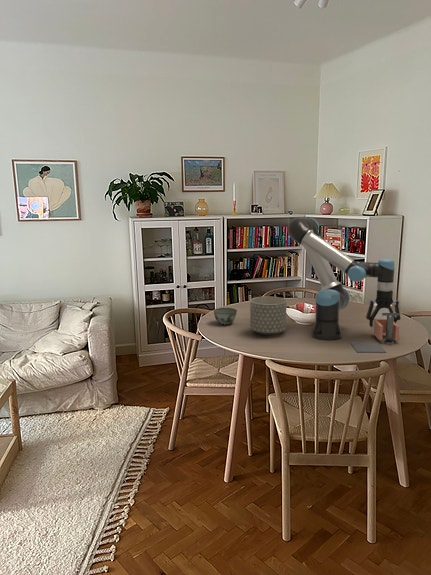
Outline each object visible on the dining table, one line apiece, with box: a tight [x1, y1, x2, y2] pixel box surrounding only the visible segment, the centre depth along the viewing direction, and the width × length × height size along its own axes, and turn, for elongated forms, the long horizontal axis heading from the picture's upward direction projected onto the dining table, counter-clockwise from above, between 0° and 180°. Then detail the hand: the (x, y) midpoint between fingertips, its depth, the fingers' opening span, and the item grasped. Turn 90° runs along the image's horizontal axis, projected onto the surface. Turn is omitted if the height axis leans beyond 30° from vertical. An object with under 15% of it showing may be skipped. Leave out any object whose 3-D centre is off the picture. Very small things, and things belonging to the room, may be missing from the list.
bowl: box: [213, 307, 238, 326], centre depth 244 cm, size 14×13×8 cm
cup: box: [373, 303, 393, 319], centre depth 238 cm, size 10×10×11 cm
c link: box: [372, 318, 400, 341], centre depth 210 cm, size 9×13×7 cm
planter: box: [249, 295, 288, 336], centre depth 223 cm, size 19×19×18 cm
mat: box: [350, 341, 387, 354], centre depth 199 cm, size 13×13×1 cm
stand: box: [382, 312, 400, 345], centre depth 204 cm, size 8×4×15 cm, turn 86°
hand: (382, 332), depth 215 cm, fingers closed on c link, 9 cm apart
